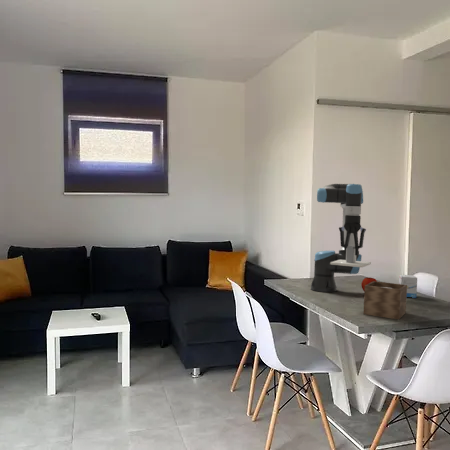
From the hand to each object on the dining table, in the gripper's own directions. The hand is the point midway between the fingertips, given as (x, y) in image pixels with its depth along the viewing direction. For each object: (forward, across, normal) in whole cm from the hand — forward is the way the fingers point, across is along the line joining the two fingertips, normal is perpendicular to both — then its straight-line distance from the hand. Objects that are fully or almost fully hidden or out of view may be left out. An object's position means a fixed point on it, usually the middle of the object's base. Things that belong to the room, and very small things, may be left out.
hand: (350, 261), depth 237 cm
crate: (+23, +19, -6) cm, 30 cm away
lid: (+2, 0, 0) cm, 2 cm away
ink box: (+23, +20, +46) cm, 55 cm away
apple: (+23, +2, +32) cm, 39 cm away
